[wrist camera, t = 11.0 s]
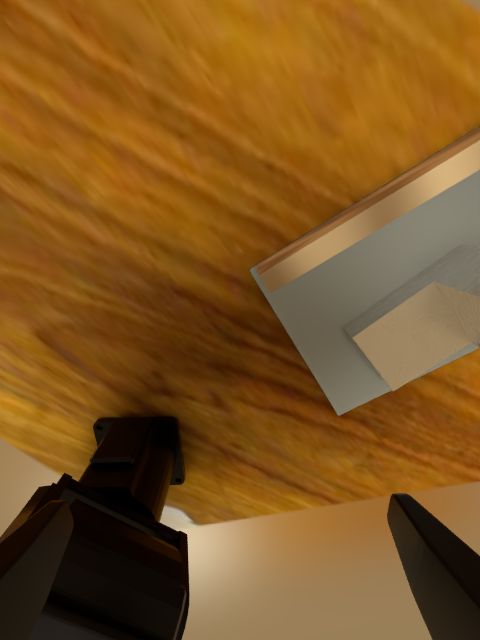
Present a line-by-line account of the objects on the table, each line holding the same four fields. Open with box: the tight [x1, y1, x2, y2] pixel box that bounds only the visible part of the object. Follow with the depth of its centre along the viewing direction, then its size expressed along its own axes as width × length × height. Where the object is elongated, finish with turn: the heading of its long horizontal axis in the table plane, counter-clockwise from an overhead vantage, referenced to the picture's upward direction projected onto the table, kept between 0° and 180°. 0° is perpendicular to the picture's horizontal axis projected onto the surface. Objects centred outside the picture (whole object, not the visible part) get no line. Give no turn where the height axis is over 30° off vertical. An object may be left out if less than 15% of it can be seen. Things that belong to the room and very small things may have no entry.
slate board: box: [249, 126, 480, 416], centre depth 19 cm, size 16×13×1 cm
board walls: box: [256, 128, 480, 294], centre depth 17 cm, size 15×10×4 cm, turn 122°
